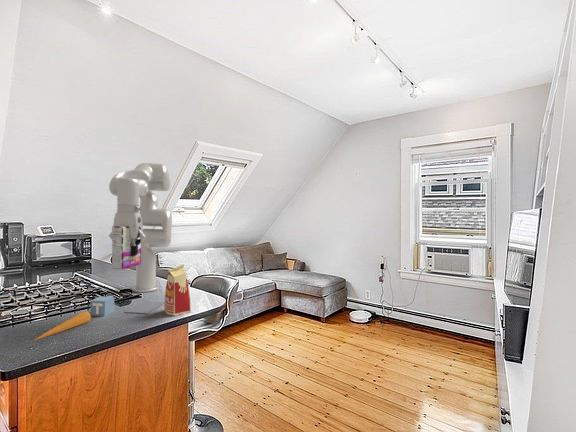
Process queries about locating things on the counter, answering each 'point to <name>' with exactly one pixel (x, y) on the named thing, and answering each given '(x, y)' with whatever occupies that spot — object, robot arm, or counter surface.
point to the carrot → (68, 324)
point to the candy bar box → (123, 249)
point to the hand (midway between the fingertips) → (127, 254)
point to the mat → (144, 307)
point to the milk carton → (177, 292)
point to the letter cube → (102, 306)
